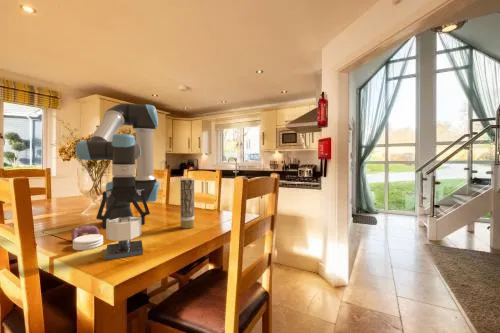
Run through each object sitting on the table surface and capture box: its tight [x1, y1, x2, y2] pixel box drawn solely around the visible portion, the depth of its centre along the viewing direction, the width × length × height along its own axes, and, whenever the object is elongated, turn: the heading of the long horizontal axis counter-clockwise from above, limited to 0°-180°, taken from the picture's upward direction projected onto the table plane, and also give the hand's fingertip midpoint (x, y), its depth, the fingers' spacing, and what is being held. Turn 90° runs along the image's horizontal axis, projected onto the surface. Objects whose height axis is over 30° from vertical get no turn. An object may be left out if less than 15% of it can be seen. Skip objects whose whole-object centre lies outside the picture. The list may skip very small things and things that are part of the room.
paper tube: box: [180, 177, 195, 229], centre depth 119 cm, size 7×7×25 cm
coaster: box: [72, 234, 104, 251], centre depth 93 cm, size 10×10×4 cm
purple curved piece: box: [71, 224, 101, 242], centre depth 100 cm, size 10×5×7 cm, turn 135°
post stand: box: [103, 217, 144, 261], centre depth 87 cm, size 12×12×12 cm
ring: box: [108, 216, 140, 242], centre depth 87 cm, size 10×10×6 cm
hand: (124, 235), depth 87 cm, fingers closed on ring, 10 cm apart
